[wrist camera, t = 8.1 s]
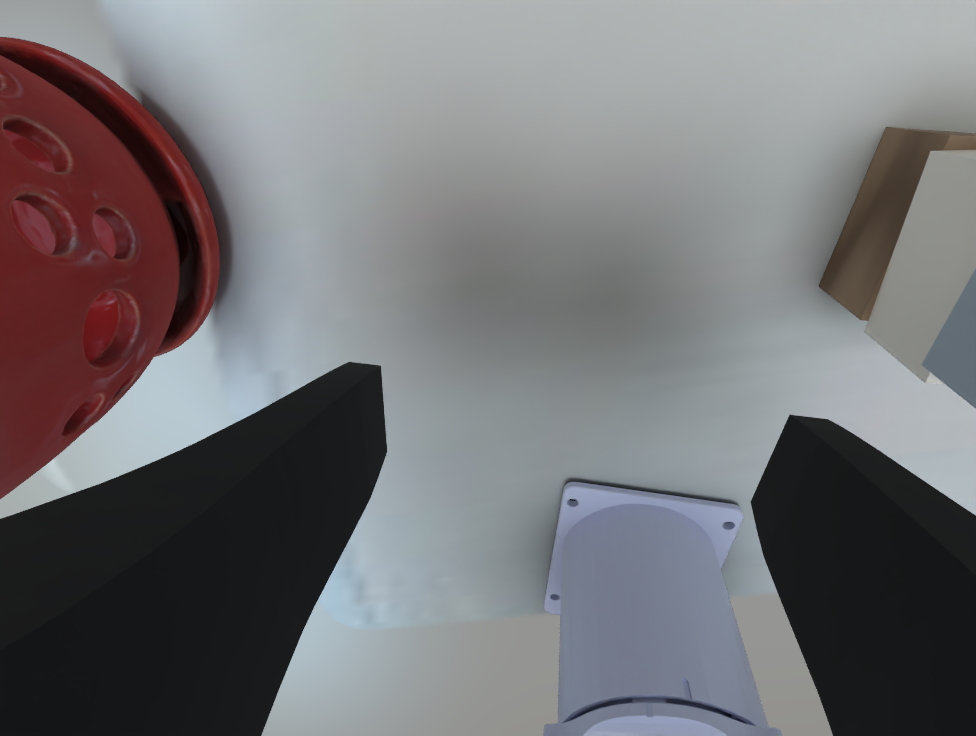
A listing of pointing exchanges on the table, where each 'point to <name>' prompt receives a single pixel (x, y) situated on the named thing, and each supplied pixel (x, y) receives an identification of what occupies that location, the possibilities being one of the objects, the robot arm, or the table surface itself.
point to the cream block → (928, 261)
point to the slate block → (957, 347)
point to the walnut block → (882, 214)
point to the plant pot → (87, 251)
